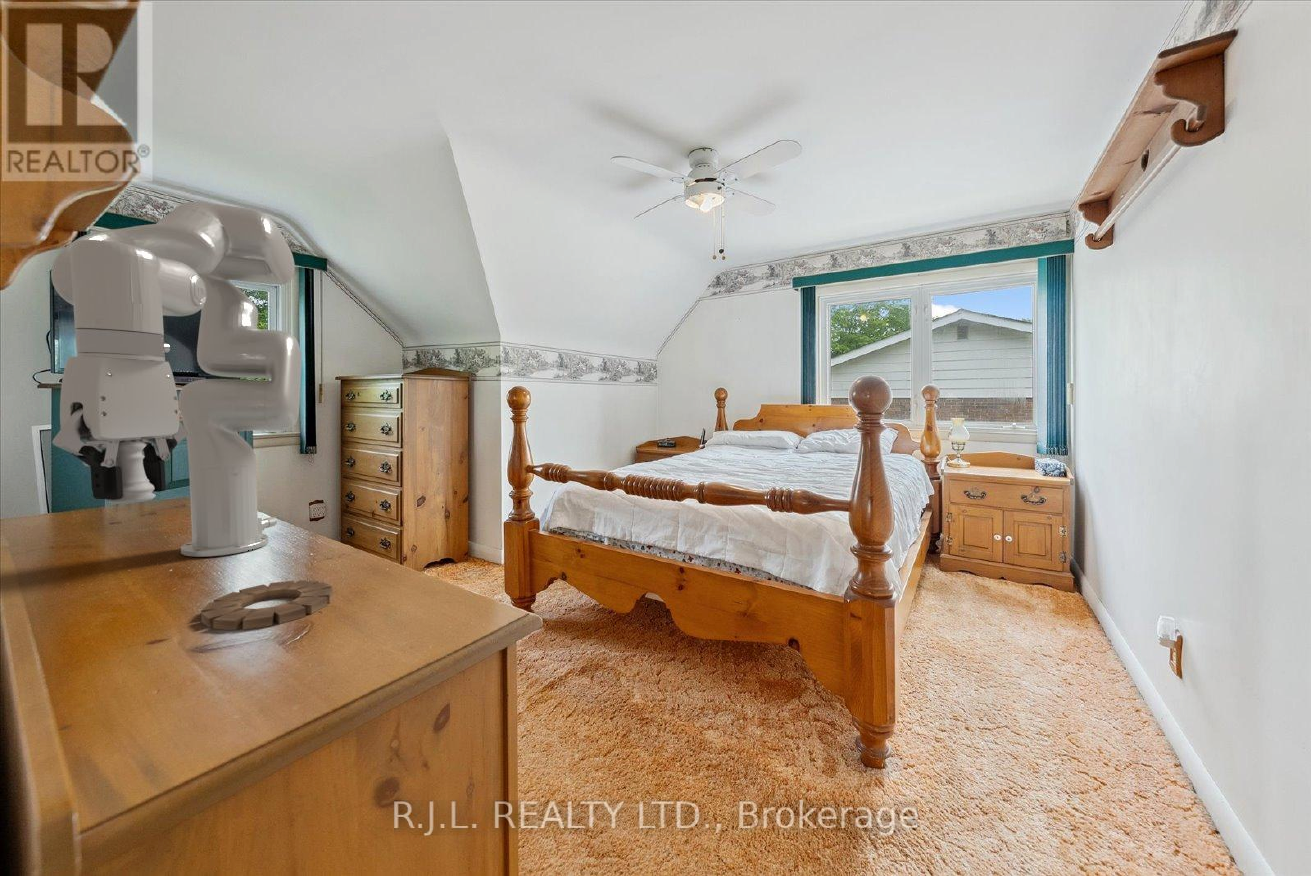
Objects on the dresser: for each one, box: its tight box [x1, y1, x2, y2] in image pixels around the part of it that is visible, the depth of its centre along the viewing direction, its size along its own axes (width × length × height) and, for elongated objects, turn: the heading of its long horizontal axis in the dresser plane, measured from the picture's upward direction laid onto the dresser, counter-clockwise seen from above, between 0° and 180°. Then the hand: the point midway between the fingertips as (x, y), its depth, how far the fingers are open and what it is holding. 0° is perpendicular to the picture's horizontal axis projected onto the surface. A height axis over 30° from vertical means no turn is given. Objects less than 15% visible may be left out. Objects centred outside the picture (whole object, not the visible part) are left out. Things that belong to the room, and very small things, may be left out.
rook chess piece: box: [105, 439, 157, 505], centre depth 64 cm, size 4×4×8 cm
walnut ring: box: [200, 579, 334, 631], centre depth 70 cm, size 14×14×1 cm
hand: (131, 493), depth 64 cm, fingers closed on rook chess piece, 4 cm apart
